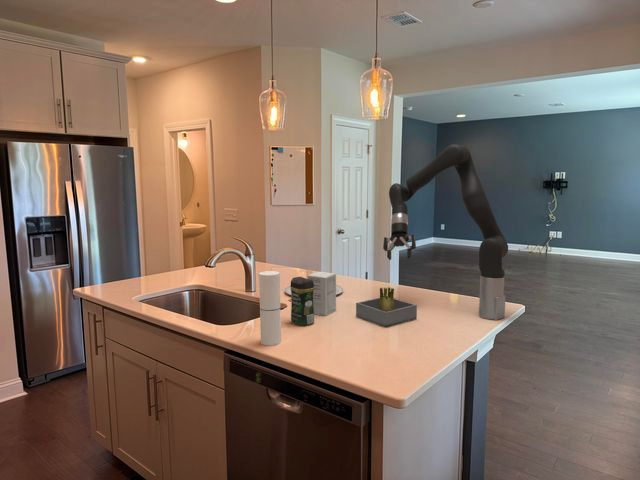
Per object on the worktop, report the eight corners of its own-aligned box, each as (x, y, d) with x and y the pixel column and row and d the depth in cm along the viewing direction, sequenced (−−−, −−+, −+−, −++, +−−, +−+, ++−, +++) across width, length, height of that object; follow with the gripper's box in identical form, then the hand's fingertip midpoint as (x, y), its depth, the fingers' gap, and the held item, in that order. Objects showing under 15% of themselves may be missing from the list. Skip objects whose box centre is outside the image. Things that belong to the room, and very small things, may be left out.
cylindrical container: (262, 346, 154) (260, 275, 151) (259, 339, 161) (257, 271, 158) (282, 344, 156) (281, 274, 153) (279, 337, 163) (277, 270, 159)
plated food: (273, 291, 231) (273, 285, 230) (319, 283, 249) (319, 277, 248) (307, 304, 207) (307, 297, 207) (355, 293, 225) (355, 287, 225)
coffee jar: (287, 321, 181) (286, 277, 178) (303, 317, 186) (303, 274, 183) (301, 327, 173) (300, 281, 171) (317, 323, 178) (317, 278, 176)
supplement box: (318, 307, 200) (318, 271, 198) (336, 310, 196) (336, 273, 193) (307, 313, 192) (306, 275, 190) (325, 316, 187) (325, 277, 185)
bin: (416, 319, 183) (416, 305, 182) (385, 327, 173) (385, 312, 172) (386, 309, 197) (386, 296, 196) (356, 316, 187) (356, 302, 186)
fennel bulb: (377, 315, 185) (378, 287, 184) (384, 312, 189) (385, 285, 187) (389, 318, 181) (389, 289, 180) (396, 315, 185) (396, 287, 183)
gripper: (382, 223, 202) (381, 257, 196) (413, 220, 196) (413, 254, 190) (386, 229, 208) (386, 262, 202) (417, 226, 202) (417, 260, 197)
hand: (399, 258), depth 196 cm, fingers open, 8 cm apart
